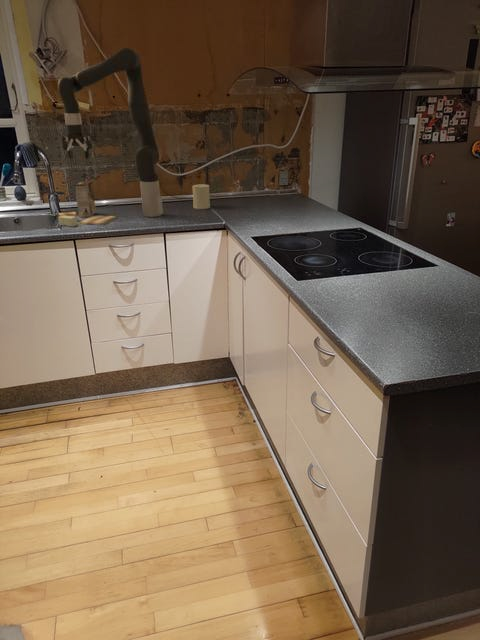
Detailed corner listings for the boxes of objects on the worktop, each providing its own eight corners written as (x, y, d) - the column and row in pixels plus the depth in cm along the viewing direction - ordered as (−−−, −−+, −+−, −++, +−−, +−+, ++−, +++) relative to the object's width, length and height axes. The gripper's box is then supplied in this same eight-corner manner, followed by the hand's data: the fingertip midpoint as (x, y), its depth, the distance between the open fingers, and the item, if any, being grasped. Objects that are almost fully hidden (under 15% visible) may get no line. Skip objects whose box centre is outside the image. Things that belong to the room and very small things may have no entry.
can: (189, 207, 264) (188, 185, 259) (201, 204, 270) (200, 182, 265) (201, 209, 259) (200, 186, 253) (213, 206, 265) (212, 184, 260)
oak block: (77, 219, 243) (75, 211, 241) (77, 221, 239) (75, 213, 238) (60, 221, 241) (58, 213, 239) (60, 223, 237) (58, 214, 236)
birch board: (115, 218, 244) (115, 216, 243) (103, 225, 231) (103, 222, 231) (93, 217, 246) (93, 215, 246) (80, 224, 234) (79, 222, 233)
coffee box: (84, 212, 256) (79, 181, 249) (96, 212, 256) (92, 181, 249) (78, 216, 248) (73, 184, 241) (91, 216, 248) (86, 184, 241)
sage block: (78, 225, 233) (76, 216, 231) (72, 226, 230) (70, 218, 228) (65, 223, 236) (63, 215, 235) (59, 225, 233) (57, 217, 231)
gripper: (91, 122, 235) (96, 158, 242) (64, 123, 238) (70, 158, 244) (83, 123, 228) (89, 159, 235) (56, 124, 231) (62, 159, 238)
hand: (79, 158), depth 240 cm, fingers open, 8 cm apart
